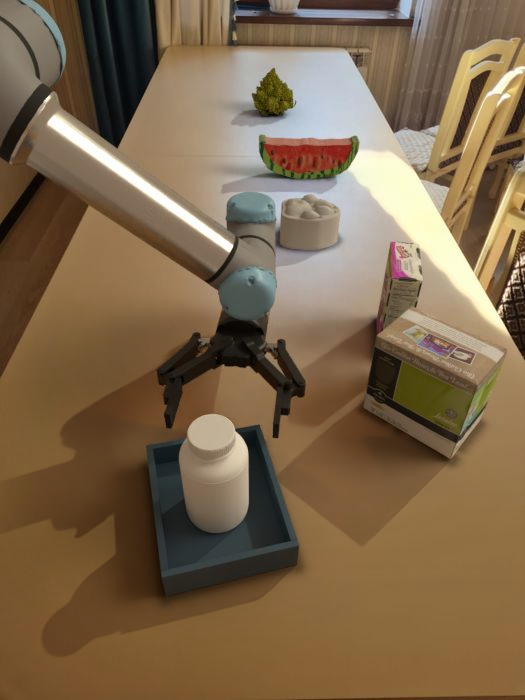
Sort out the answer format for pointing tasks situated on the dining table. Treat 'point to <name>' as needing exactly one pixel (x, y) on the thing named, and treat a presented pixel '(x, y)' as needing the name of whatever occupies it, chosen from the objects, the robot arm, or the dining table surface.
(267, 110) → the vegetable
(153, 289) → the dining table surface
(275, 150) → the fruit slice
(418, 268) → the candy bar box
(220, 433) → the pill bottle
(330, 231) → the lumpy-topped squat cylinder
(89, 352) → the dining table surface
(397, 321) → the tea box
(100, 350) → the dining table surface
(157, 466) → the tray
